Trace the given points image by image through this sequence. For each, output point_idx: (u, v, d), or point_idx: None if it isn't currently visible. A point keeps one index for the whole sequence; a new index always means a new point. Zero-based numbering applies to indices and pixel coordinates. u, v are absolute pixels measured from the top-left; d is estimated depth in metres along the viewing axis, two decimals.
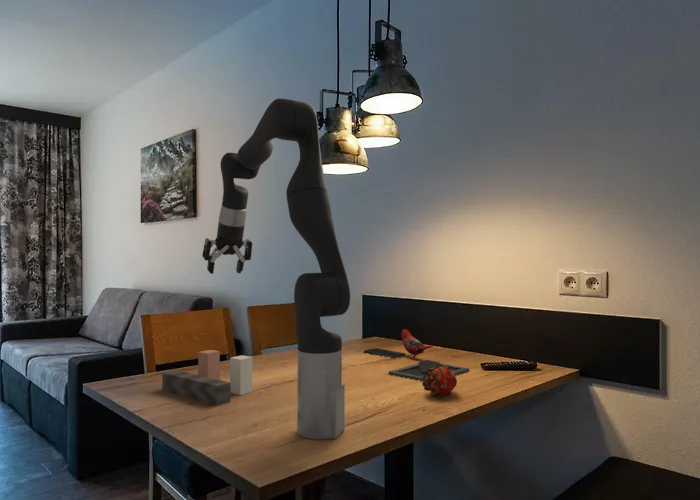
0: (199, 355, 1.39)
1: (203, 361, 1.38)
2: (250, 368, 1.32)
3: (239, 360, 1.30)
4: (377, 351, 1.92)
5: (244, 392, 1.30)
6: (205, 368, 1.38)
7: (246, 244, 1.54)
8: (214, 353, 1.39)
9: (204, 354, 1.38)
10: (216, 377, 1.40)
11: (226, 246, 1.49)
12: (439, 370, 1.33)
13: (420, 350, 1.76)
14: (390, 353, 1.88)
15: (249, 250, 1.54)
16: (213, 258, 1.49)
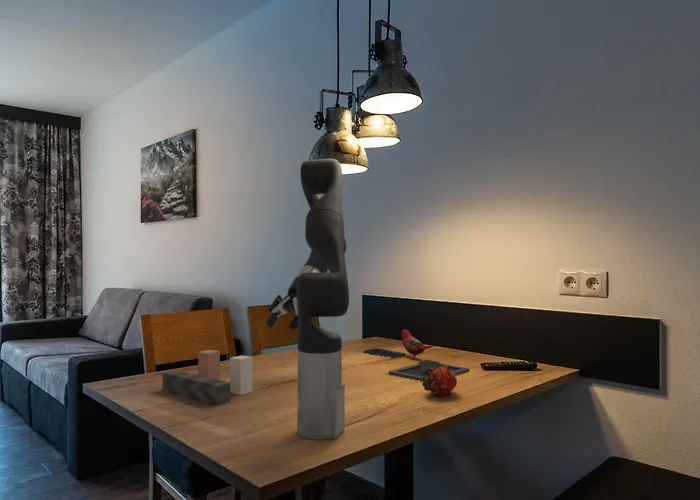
0: (199, 355, 1.39)
1: (203, 361, 1.38)
2: (250, 368, 1.32)
3: (239, 360, 1.30)
4: (377, 351, 1.92)
5: (244, 392, 1.30)
6: (205, 368, 1.38)
7: None
8: (214, 353, 1.39)
9: (204, 354, 1.38)
10: (216, 377, 1.40)
11: (288, 297, 1.49)
12: (439, 370, 1.33)
13: (420, 350, 1.76)
14: (390, 353, 1.88)
15: None
16: (274, 309, 1.49)
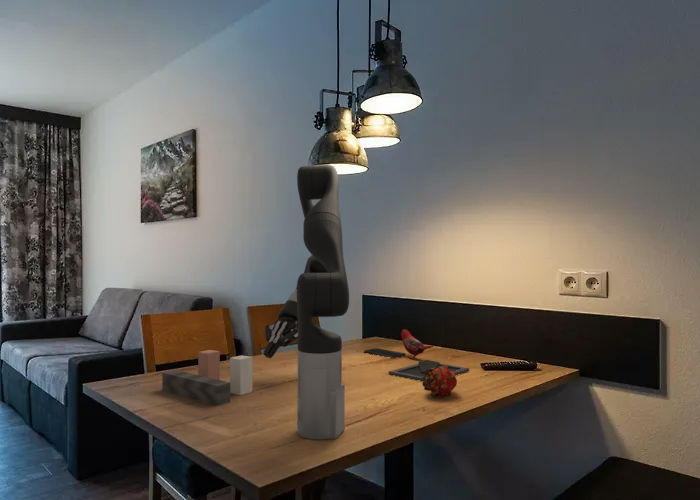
0: (199, 355, 1.39)
1: (203, 361, 1.38)
2: (250, 368, 1.32)
3: (239, 360, 1.30)
4: (377, 351, 1.91)
5: (244, 392, 1.30)
6: (205, 368, 1.38)
7: None
8: (214, 353, 1.39)
9: (204, 354, 1.38)
10: (216, 377, 1.40)
11: (278, 322, 1.45)
12: (439, 370, 1.33)
13: (420, 350, 1.76)
14: (390, 353, 1.88)
15: (288, 334, 1.41)
16: (271, 338, 1.42)
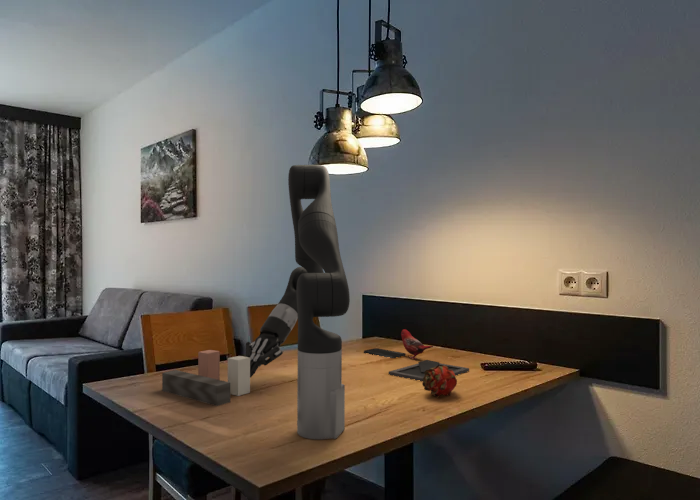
0: (199, 355, 1.39)
1: (203, 361, 1.38)
2: (248, 369, 1.31)
3: (237, 361, 1.29)
4: (377, 351, 1.91)
5: (242, 393, 1.30)
6: (205, 368, 1.38)
7: None
8: (214, 353, 1.39)
9: (204, 354, 1.38)
10: (216, 377, 1.40)
11: (259, 339, 1.39)
12: (439, 370, 1.33)
13: (420, 350, 1.76)
14: (390, 353, 1.88)
15: (269, 352, 1.35)
16: (251, 356, 1.36)
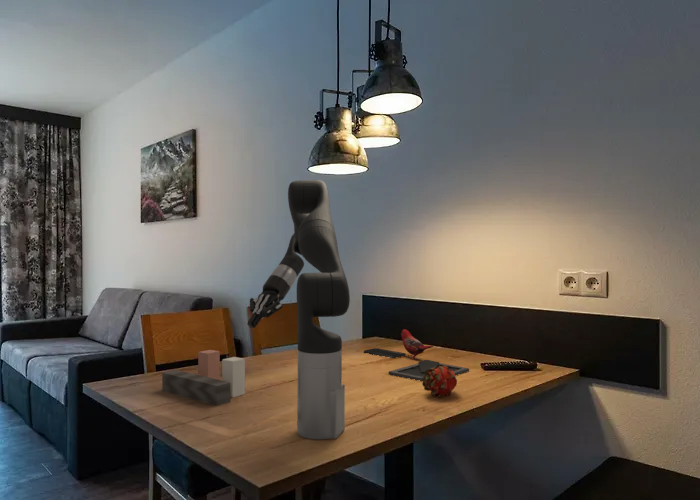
0: (199, 355, 1.39)
1: (203, 361, 1.38)
2: (242, 370, 1.30)
3: (231, 362, 1.28)
4: (377, 351, 1.91)
5: (236, 394, 1.28)
6: (205, 368, 1.38)
7: None
8: (214, 353, 1.39)
9: (204, 354, 1.38)
10: (216, 377, 1.40)
11: (261, 295, 1.56)
12: (439, 370, 1.33)
13: (420, 350, 1.76)
14: (390, 353, 1.88)
15: (270, 306, 1.51)
16: (254, 310, 1.53)
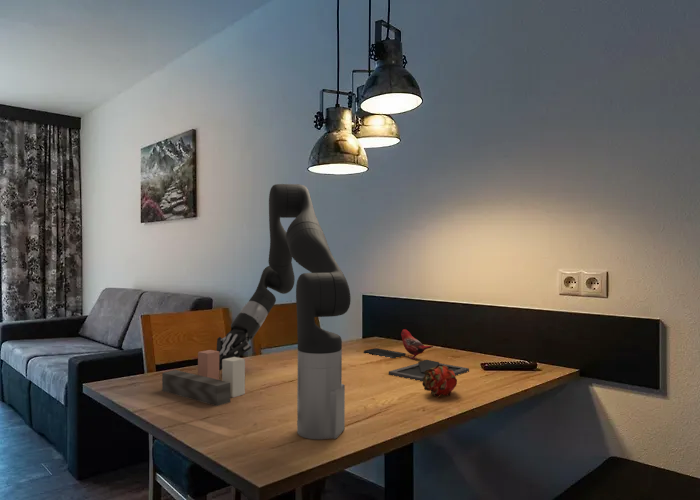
0: (199, 355, 1.39)
1: (203, 361, 1.38)
2: (242, 370, 1.30)
3: (231, 362, 1.28)
4: (377, 351, 1.91)
5: (236, 394, 1.28)
6: (204, 368, 1.38)
7: None
8: (214, 353, 1.39)
9: (204, 354, 1.38)
10: (216, 377, 1.39)
11: (229, 334, 1.47)
12: (439, 370, 1.33)
13: (420, 350, 1.76)
14: (390, 353, 1.88)
15: (238, 346, 1.43)
16: (221, 350, 1.45)
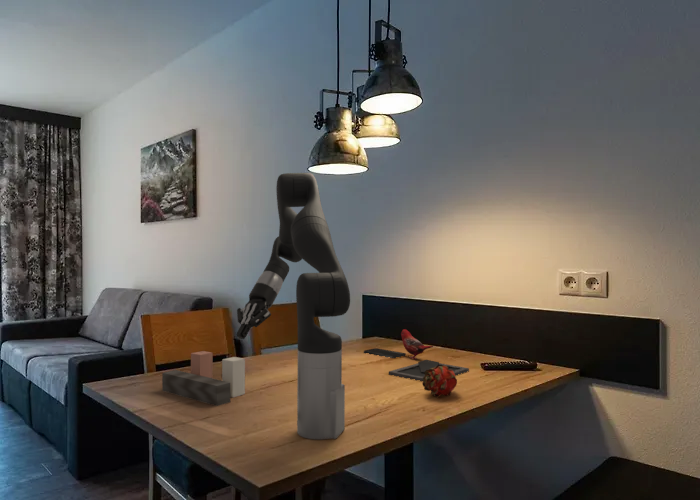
0: (192, 356, 1.37)
1: (196, 362, 1.36)
2: (242, 370, 1.30)
3: (231, 362, 1.28)
4: (377, 351, 1.91)
5: (236, 394, 1.28)
6: (197, 370, 1.36)
7: None
8: (207, 354, 1.37)
9: (197, 355, 1.36)
10: None
11: (248, 304, 1.52)
12: (439, 370, 1.33)
13: (420, 350, 1.76)
14: (390, 353, 1.88)
15: (258, 314, 1.48)
16: (243, 320, 1.50)
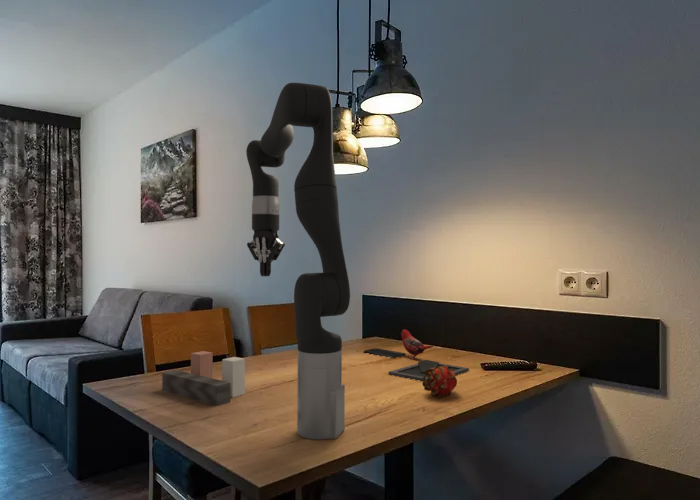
0: (192, 356, 1.37)
1: (196, 362, 1.36)
2: (242, 370, 1.30)
3: (231, 362, 1.28)
4: (377, 351, 1.91)
5: (236, 394, 1.28)
6: (197, 370, 1.36)
7: None
8: (207, 354, 1.37)
9: (197, 355, 1.36)
10: None
11: (256, 239, 1.40)
12: (439, 370, 1.33)
13: (420, 350, 1.76)
14: (390, 353, 1.88)
15: (273, 250, 1.38)
16: (259, 258, 1.41)
